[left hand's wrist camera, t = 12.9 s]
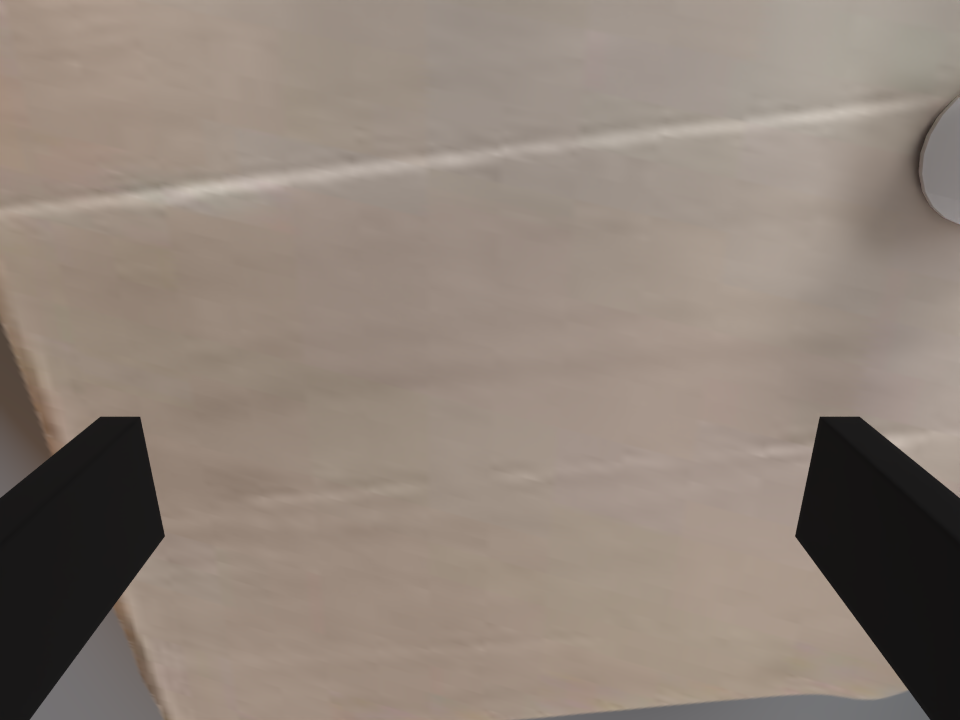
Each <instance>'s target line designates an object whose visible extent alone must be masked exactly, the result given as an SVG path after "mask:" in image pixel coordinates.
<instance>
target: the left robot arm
mask: <svg viewBox="0 0 960 720" xmlns="http://www.w3.org/2000/svg"><path fill="white" fill-rule="evenodd" d="M164 537H165V535H164V530H163V525H162V520H161V516H160V511H159V506H158V501H157V496H156V491H155V487H154V482H153V477H152V472H151V467H150V462H149V457H148V453H147V448H146V443H145V438H144V433H143V428H142V423H141V419H140V417H100V418H98V419H97V420H96V421H95V422H93V423H92V424H91V425H90V426H89V427H87V428H86V429H85V430H84V431H82V432H81V433H80V434H79V435H77V436H76V437H75V438H74V439H72V440H71V441H70V442H69V443H68V444H66V445H65V446H64V447H63V448H61V449H60V450H59V451H58V452H56V453H55V454H54V455H53V456H52V457H50V458H49V459H48V460H47V461H45V462H44V463H43V464H42V465H40V466H39V467H38V468H37V469H36V470H34V471H33V472H32V473H31V474H29V475H28V476H27V477H26V478H24V479H23V480H22V481H21V482H20V483H18V484H17V485H16V486H15V487H13V488H12V489H11V490H10V491H9V492H7V493H6V494H5V495H4V496H2V497H1V498H0V720H30V718H31V717H32V716H33V714H34V713H35V712H36V710H37V709H38V708H39V706H40V705H41V703H42V702H43V701H44V699H45V698H46V697H47V695H48V694H49V693H50V691H51V690H52V689H53V687H54V686H55V684H56V683H57V682H58V680H59V679H60V678H61V676H62V675H63V674H64V672H65V671H66V670H67V668H68V667H69V666H70V664H71V663H72V661H73V660H74V659H75V657H76V656H77V655H78V653H79V652H80V651H81V649H82V648H83V647H84V645H85V644H86V642H87V641H88V640H89V638H90V637H91V636H92V634H93V633H94V632H95V630H96V629H97V628H98V626H99V625H100V623H101V622H102V621H103V619H104V618H105V617H106V615H107V614H108V613H109V611H110V610H111V609H112V607H113V606H114V605H115V603H116V602H117V600H118V599H119V598H120V596H121V595H122V594H123V592H124V591H125V590H126V588H127V587H128V586H129V584H130V583H131V581H132V580H133V579H134V577H135V576H136V575H137V573H138V572H139V571H140V569H141V568H142V567H143V565H144V564H145V562H146V561H147V560H148V558H149V557H150V556H151V554H152V553H153V552H154V550H155V549H156V548H157V546H158V545H159V543H160V542H161V541H162V539H163V538H164ZM795 537H796V538H797V539H798V541H799V542H800V543H801V545H802V546H803V548H804V549H805V550H806V552H807V553H808V554H809V556H810V557H811V558H812V560H813V561H814V562H815V564H816V565H817V567H818V568H819V569H820V571H821V572H822V573H823V575H824V576H825V577H826V579H827V580H828V581H829V583H830V584H831V586H832V587H833V588H834V590H835V591H836V592H837V594H838V595H839V596H840V598H841V599H842V600H843V602H844V603H845V605H846V606H847V607H848V609H849V610H850V611H851V613H852V614H853V615H854V617H855V618H856V619H857V621H858V622H859V623H860V625H861V626H862V628H863V629H864V630H865V632H866V633H867V634H868V636H869V637H870V638H871V640H872V641H873V642H874V644H875V645H876V647H877V648H878V649H879V651H880V652H881V653H882V655H883V656H884V657H885V659H886V660H887V661H888V663H889V664H890V666H891V667H892V668H893V670H894V671H895V672H896V674H897V675H898V676H899V678H900V679H901V680H902V682H903V683H904V685H905V686H906V687H907V689H908V690H909V691H910V693H911V694H912V695H913V697H914V698H915V699H916V701H917V702H918V703H919V705H920V706H921V708H922V709H923V710H924V712H925V713H926V714H927V716H928V717H929V718H930V720H960V498H959V497H958V496H956V495H955V494H954V493H953V492H952V491H950V490H949V489H948V488H947V487H945V486H944V485H943V484H942V483H940V482H939V481H938V480H937V479H936V478H934V477H933V476H932V475H931V474H929V473H928V472H927V471H926V470H924V469H923V468H922V467H921V466H920V465H918V464H917V463H916V462H915V461H913V460H912V459H911V458H910V457H908V456H907V455H906V454H905V453H904V452H902V451H901V450H900V449H899V448H897V447H896V446H895V445H894V444H892V443H891V442H890V441H889V440H888V439H886V438H885V437H884V436H883V435H881V434H880V433H879V432H878V431H876V430H875V429H874V428H873V427H871V426H870V425H869V424H868V423H867V422H865V421H864V420H863V419H862V418H860V417H820V419H819V423H818V428H817V433H816V438H815V443H814V448H813V453H812V457H811V462H810V467H809V472H808V477H807V482H806V487H805V491H804V496H803V501H802V506H801V511H800V516H799V520H798V525H797V530H796V535H795Z"/></svg>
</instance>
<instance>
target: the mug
mask: <svg viewBox="0 0 960 720" xmlns="http://www.w3.org/2000/svg"><path fill="white" fill-rule="evenodd" d="M919 177H920V183H921V188H922V192H923V194H924V196H925V197H926V199H927V201H928V203H929V205H930V206H931V207H932V208H933V209H934V210H935V211H936V212H937V213H938V214H939V215H940V216H941V217H943V218H945V219H947V220H950V221H952V222H954V223H956V224H960V95H959V96H957V97H956V98H955V99H954V100H953V101H952V102H951V103H950V104H949V105H948V106H947V107H946V108H945V109H944V110H943V111H942V113H941V114H940V115H939V116H938V117H937V119H936V120H935V122H934V124H933V125H932V127H931V129H930V130H929V132H928V134H927V136H926V138H925V141H924V144H923V147H922V150H921V153H920V162H919Z"/></svg>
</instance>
